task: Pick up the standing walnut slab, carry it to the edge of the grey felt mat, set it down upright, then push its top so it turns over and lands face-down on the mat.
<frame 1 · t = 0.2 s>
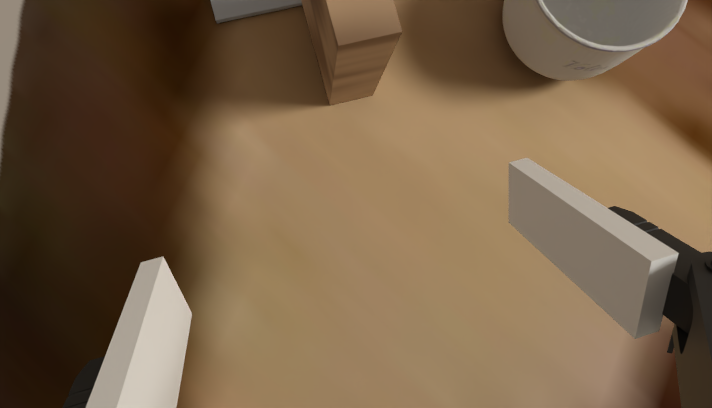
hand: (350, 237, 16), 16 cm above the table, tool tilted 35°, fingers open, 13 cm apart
walnut slab: (336, 45, 33), on the table, touching felt mat
teacup: (560, 22, 36), on the table
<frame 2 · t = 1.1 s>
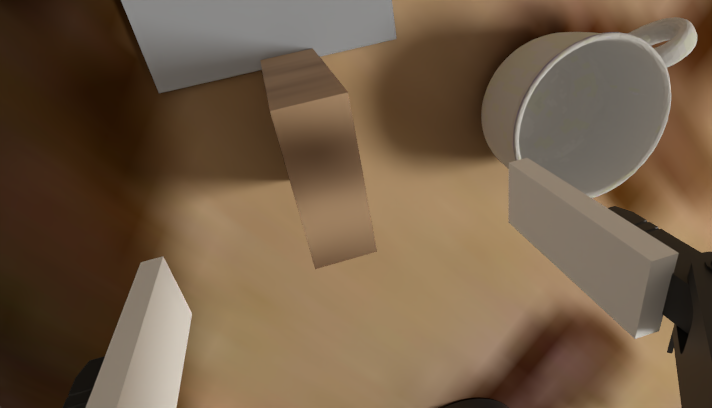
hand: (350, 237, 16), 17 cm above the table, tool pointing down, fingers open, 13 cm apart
walnut slab: (302, 118, 30), on the table, touching felt mat
teacup: (541, 85, 34), on the table
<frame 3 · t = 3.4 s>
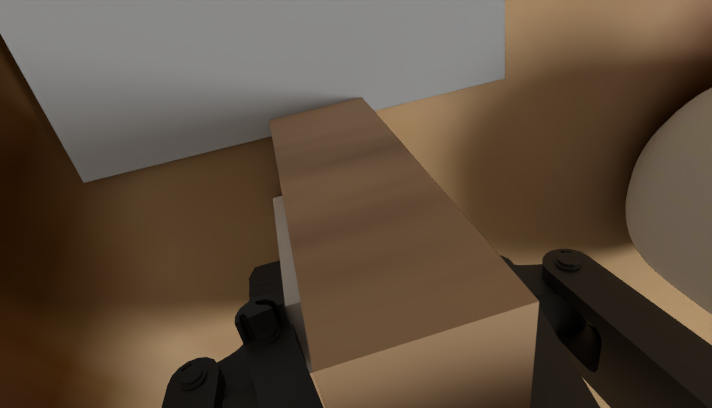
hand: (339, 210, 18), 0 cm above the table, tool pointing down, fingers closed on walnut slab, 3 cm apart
walnut slab: (339, 210, 18), on the table, touching gripper
teacup: (708, 142, 21), on the table
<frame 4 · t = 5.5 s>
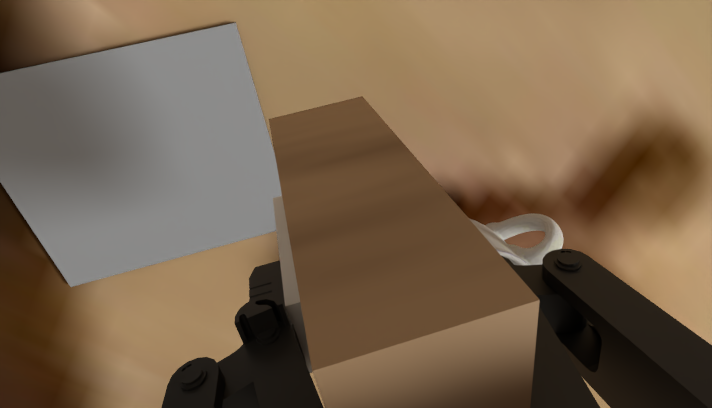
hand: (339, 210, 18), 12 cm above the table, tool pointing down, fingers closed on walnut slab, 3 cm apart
felt mat: (146, 165, 27), on the table
walnut slab: (339, 209, 18), point 12 cm above the table, touching gripper
teacup: (444, 244, 36), on the table
when the fingers open (1 cm above the table, at t = 7.6 s): walnut slab drops 1 cm, on the table.
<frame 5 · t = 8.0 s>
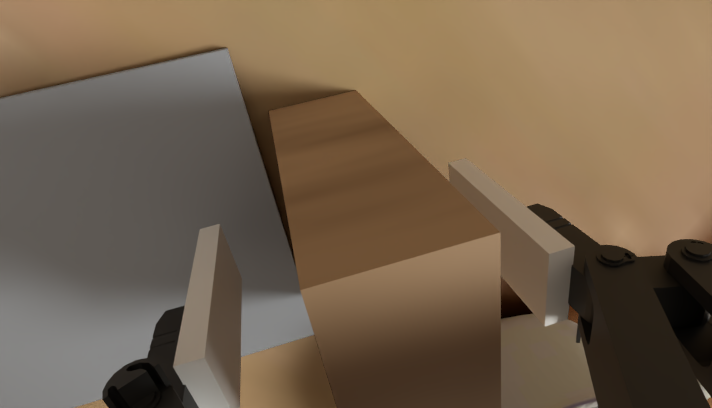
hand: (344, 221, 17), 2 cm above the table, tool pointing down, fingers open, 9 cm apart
felt mat: (90, 265, 18), on the table
walnut slab: (335, 199, 19), on the table
teacup: (516, 339, 26), on the table
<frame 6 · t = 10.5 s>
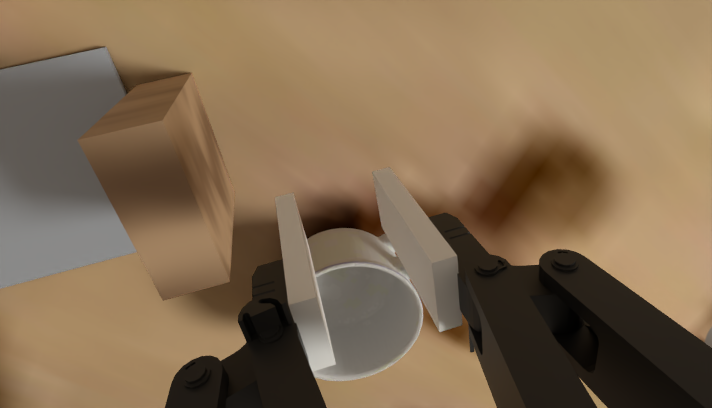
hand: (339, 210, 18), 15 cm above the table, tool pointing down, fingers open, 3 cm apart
felt mat: (32, 181, 28), on the table
walnut slab: (190, 143, 30), on the table
teacup: (347, 254, 37), on the table
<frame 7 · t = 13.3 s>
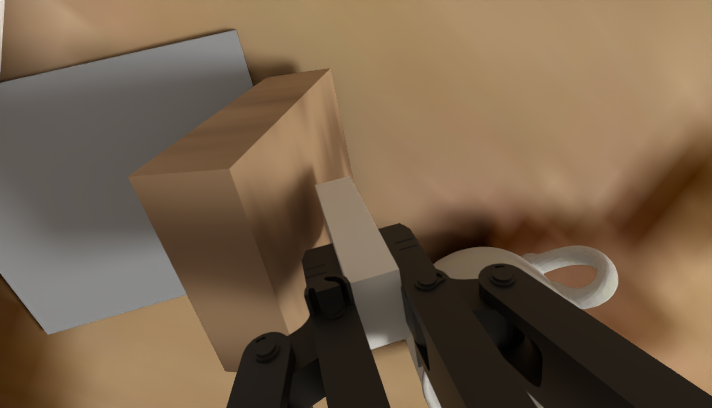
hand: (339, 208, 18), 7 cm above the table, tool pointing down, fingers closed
felt mat: (132, 196, 23), on the table
walnut slab: (317, 153, 24), point 1 cm above the table, tilted 25°
teacup: (472, 274, 32), on the table
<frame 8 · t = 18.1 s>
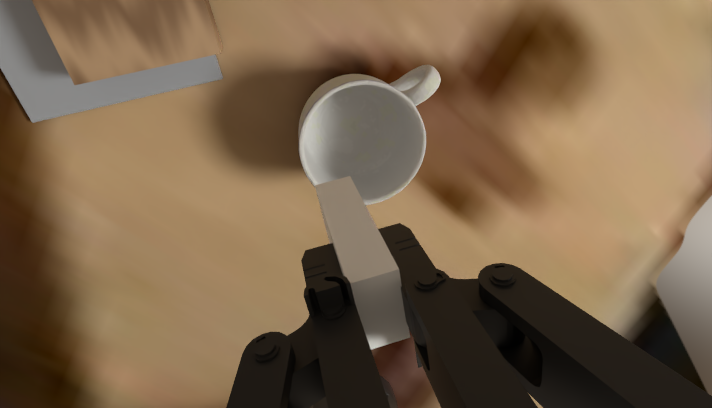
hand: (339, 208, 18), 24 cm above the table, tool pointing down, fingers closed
felt mat: (91, 11, 33), on the table
teacup: (359, 111, 42), on the table
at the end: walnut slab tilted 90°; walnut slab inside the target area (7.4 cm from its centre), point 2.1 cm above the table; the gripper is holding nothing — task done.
